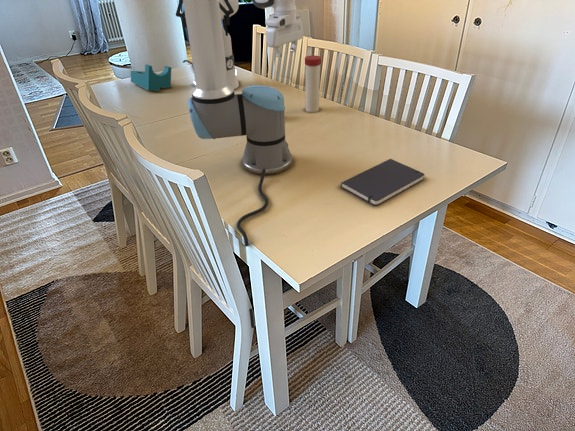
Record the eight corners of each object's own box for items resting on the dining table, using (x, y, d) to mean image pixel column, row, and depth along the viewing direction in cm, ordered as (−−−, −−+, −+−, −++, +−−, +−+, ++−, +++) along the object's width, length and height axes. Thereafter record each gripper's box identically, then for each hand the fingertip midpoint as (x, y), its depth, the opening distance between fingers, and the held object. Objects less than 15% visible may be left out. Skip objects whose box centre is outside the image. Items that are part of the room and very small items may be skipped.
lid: (301, 63, 152) (301, 56, 151) (315, 60, 155) (315, 54, 153) (310, 66, 148) (310, 60, 147) (324, 64, 150) (324, 58, 149)
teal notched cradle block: (170, 90, 188) (171, 67, 184) (148, 90, 181) (148, 66, 177) (152, 82, 199) (152, 60, 195) (130, 81, 192) (130, 58, 187)
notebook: (389, 163, 124) (340, 187, 113) (390, 158, 123) (341, 182, 112) (424, 178, 116) (375, 206, 105) (425, 174, 115) (376, 201, 104)
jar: (302, 108, 163) (302, 58, 151) (314, 106, 165) (315, 56, 153) (310, 113, 159) (310, 61, 147) (321, 110, 161) (323, 59, 149)
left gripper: (294, 13, 168) (295, 48, 176) (262, 21, 156) (264, 58, 164) (306, 14, 165) (306, 50, 173) (275, 23, 152) (276, 61, 160)
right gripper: (235, -35, 140) (241, 31, 152) (161, -31, 136) (173, 36, 149) (237, -33, 134) (243, 36, 146) (160, -30, 130) (172, 40, 143)
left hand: (286, 54), depth 168 cm, fingers open, 8 cm apart
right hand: (208, 36), depth 147 cm, fingers open, 13 cm apart
